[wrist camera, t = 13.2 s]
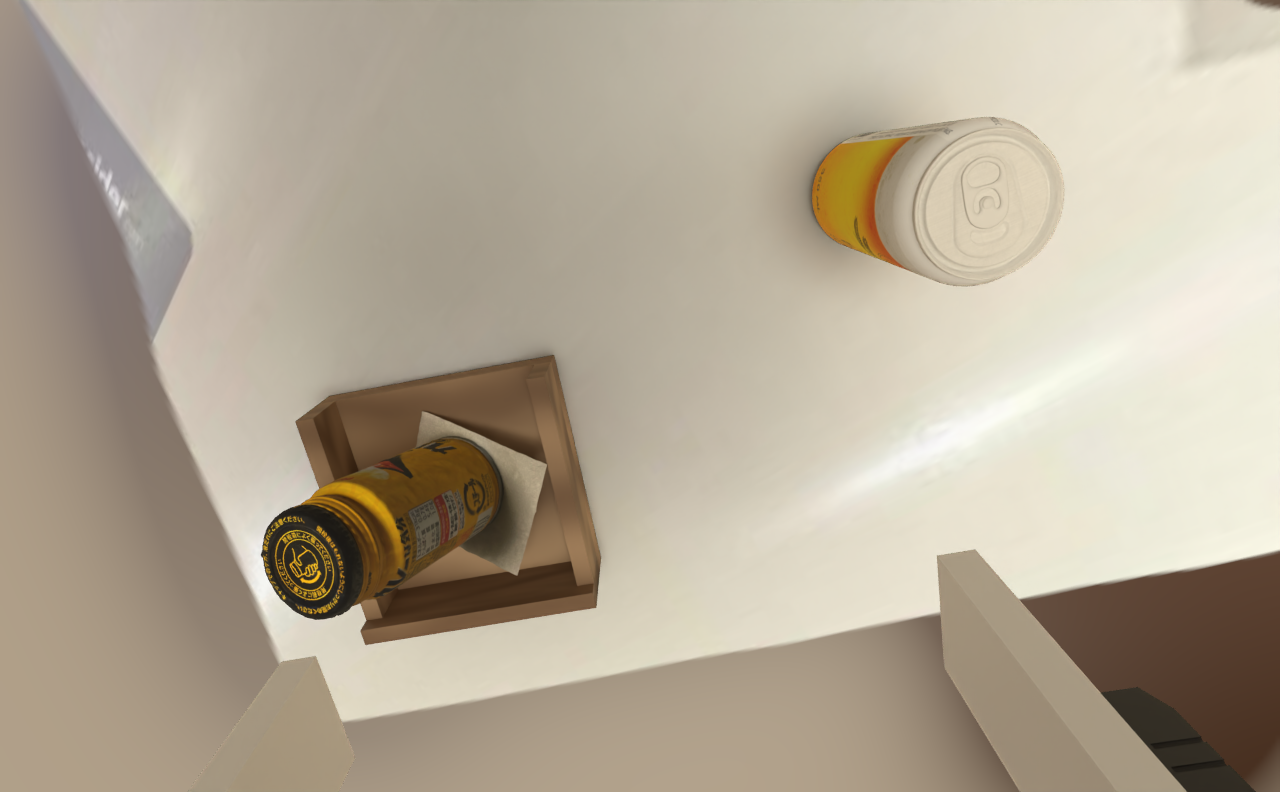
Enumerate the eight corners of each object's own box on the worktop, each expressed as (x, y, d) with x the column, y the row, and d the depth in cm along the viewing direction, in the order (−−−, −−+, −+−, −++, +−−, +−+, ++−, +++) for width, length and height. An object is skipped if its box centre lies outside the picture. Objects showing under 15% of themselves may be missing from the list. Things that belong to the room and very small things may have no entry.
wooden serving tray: (329, 396, 43) (286, 427, 38) (554, 355, 42) (542, 381, 37) (395, 592, 48) (365, 644, 42) (601, 558, 47) (596, 607, 42)
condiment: (424, 410, 42) (252, 469, 31) (548, 463, 40) (411, 548, 29) (403, 517, 44) (235, 607, 33) (520, 573, 42) (382, 691, 31)
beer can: (820, 259, 41) (917, 309, 27) (799, 151, 39) (891, 143, 25) (925, 230, 40) (1082, 266, 26) (909, 119, 38) (1068, 92, 24)
